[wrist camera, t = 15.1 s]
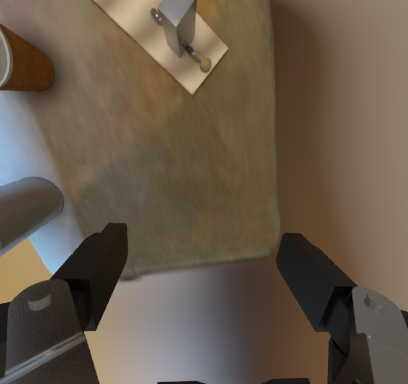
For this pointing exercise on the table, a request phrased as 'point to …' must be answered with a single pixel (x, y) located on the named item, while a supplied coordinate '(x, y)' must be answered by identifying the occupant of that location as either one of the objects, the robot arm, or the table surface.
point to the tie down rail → (157, 44)
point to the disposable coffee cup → (22, 64)
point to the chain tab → (177, 24)
